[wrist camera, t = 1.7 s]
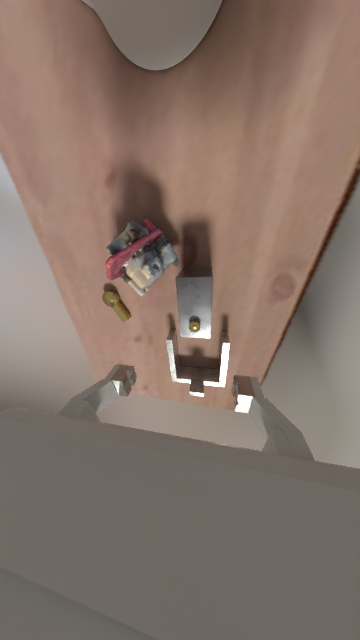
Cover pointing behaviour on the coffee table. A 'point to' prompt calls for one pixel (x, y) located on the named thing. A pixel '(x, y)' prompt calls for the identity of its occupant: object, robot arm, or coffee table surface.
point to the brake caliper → (140, 255)
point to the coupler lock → (195, 302)
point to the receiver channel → (196, 374)
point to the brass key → (116, 304)
